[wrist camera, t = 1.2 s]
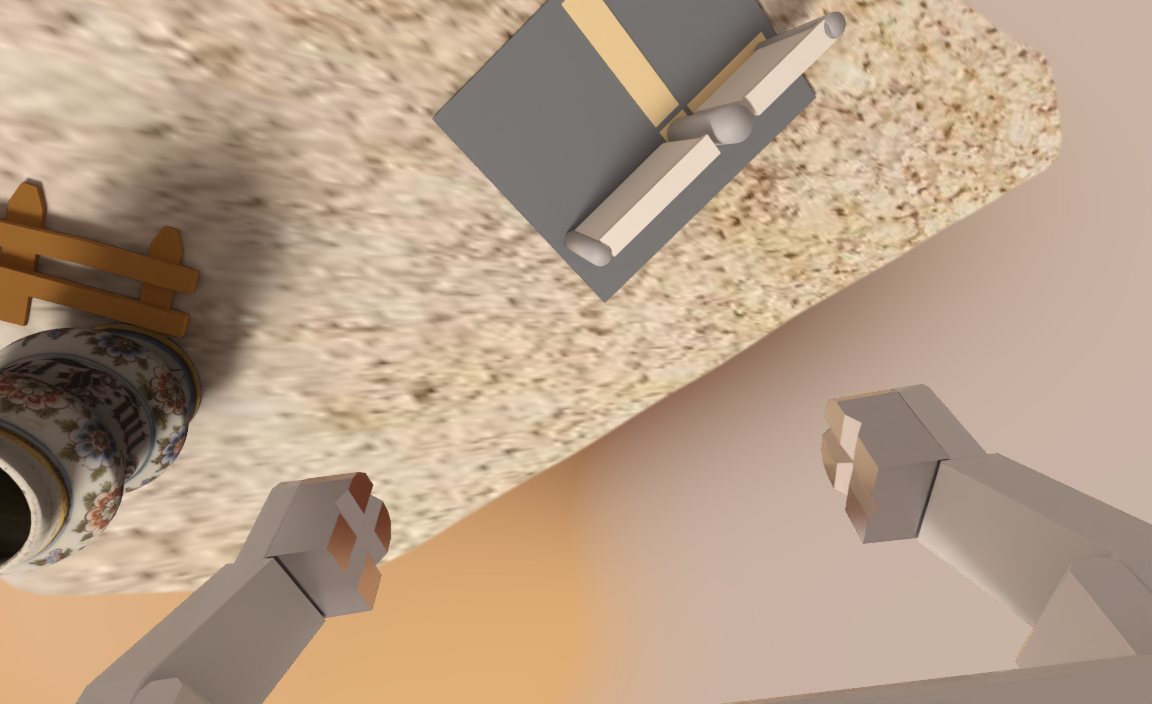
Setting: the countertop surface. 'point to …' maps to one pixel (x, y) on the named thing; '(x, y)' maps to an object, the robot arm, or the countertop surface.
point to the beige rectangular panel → (640, 199)
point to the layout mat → (609, 112)
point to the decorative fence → (14, 281)
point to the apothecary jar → (84, 433)
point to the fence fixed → (758, 82)
